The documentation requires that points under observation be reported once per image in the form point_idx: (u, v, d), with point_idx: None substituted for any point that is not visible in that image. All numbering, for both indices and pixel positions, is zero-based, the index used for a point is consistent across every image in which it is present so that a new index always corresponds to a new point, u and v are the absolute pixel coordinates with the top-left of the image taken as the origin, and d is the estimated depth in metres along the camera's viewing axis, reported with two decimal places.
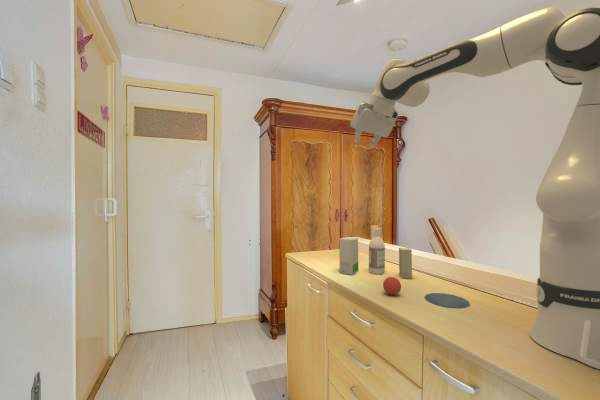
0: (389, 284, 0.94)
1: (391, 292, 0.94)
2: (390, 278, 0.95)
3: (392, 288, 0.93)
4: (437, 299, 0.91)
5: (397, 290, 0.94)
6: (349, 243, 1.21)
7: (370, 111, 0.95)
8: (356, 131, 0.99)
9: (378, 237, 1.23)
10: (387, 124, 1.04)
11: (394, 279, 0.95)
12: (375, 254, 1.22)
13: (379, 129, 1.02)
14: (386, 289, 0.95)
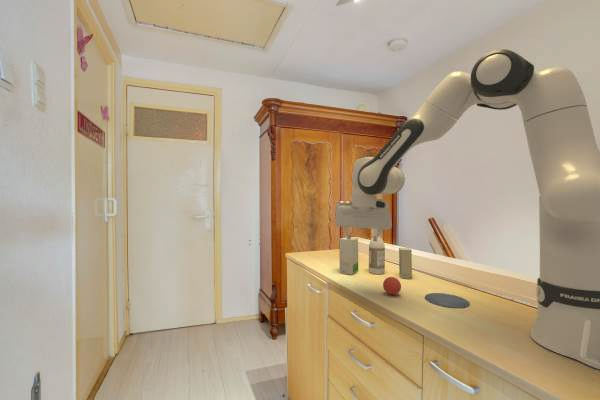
0: (389, 284, 0.94)
1: (391, 292, 0.94)
2: (390, 278, 0.95)
3: (392, 288, 0.93)
4: (437, 299, 0.91)
5: (397, 290, 0.94)
6: (349, 243, 1.21)
7: (345, 207, 1.00)
8: None
9: (378, 237, 1.23)
10: (381, 215, 0.97)
11: (394, 279, 0.95)
12: (375, 254, 1.22)
13: (370, 221, 0.98)
14: (386, 289, 0.95)
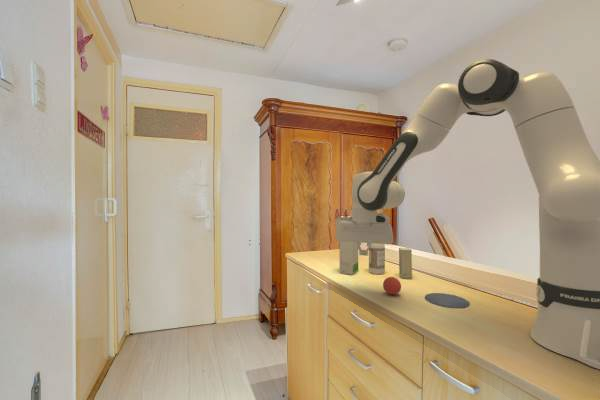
0: (389, 284, 0.94)
1: (391, 292, 0.94)
2: (390, 278, 0.95)
3: (392, 288, 0.93)
4: (437, 299, 0.91)
5: (397, 290, 0.94)
6: (349, 243, 1.21)
7: (346, 222, 1.00)
8: None
9: None
10: (382, 230, 0.96)
11: (394, 279, 0.95)
12: (375, 254, 1.22)
13: (371, 236, 0.97)
14: (386, 289, 0.95)
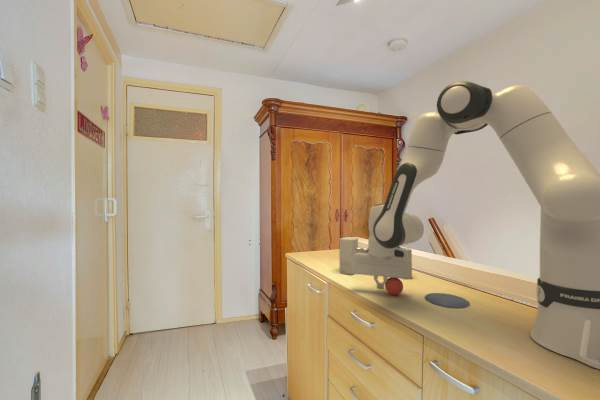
0: (392, 284, 0.94)
1: (392, 292, 0.94)
2: (394, 278, 0.95)
3: (394, 288, 0.93)
4: (437, 299, 0.91)
5: (398, 291, 0.93)
6: (349, 243, 1.21)
7: (362, 255, 0.97)
8: None
9: None
10: (400, 264, 0.94)
11: (398, 280, 0.95)
12: None
13: (389, 270, 0.95)
14: (388, 288, 0.95)
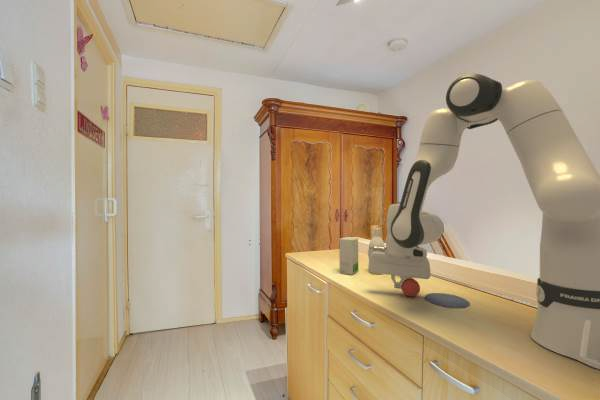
0: (410, 285, 0.92)
1: (406, 292, 0.93)
2: (414, 281, 0.93)
3: (411, 290, 0.92)
4: (437, 299, 0.91)
5: (413, 294, 0.92)
6: (349, 243, 1.21)
7: (380, 254, 0.96)
8: None
9: (378, 237, 1.23)
10: (419, 264, 0.92)
11: (417, 284, 0.93)
12: None
13: (407, 270, 0.93)
14: (404, 286, 0.93)
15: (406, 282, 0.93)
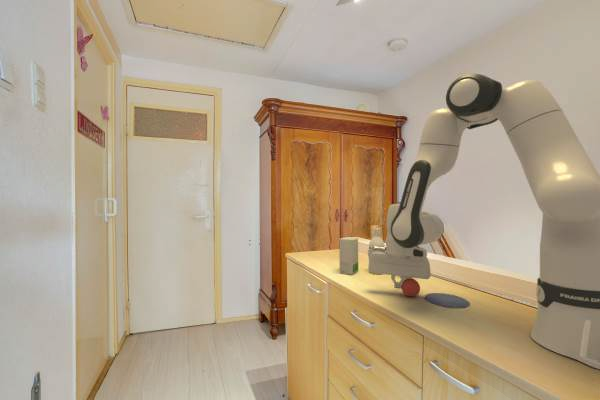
0: (410, 285, 0.92)
1: (406, 292, 0.93)
2: (415, 281, 0.93)
3: (411, 290, 0.92)
4: (437, 299, 0.91)
5: (413, 294, 0.92)
6: (349, 243, 1.21)
7: (380, 254, 0.96)
8: None
9: (378, 237, 1.23)
10: (419, 264, 0.92)
11: (417, 284, 0.93)
12: None
13: (407, 270, 0.93)
14: (404, 286, 0.93)
15: (406, 282, 0.93)
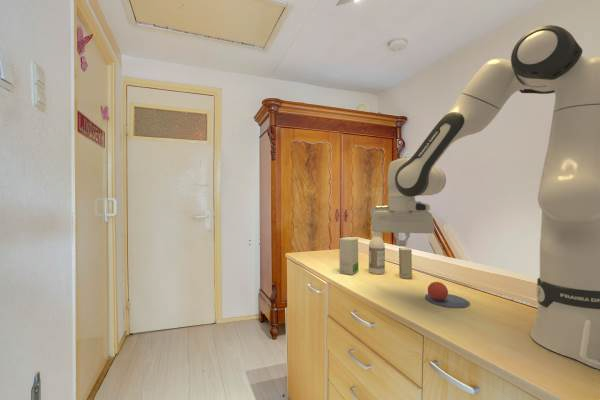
0: (437, 298, 0.88)
1: (438, 290, 0.88)
2: None
3: (435, 294, 0.88)
4: None
5: (431, 289, 0.89)
6: (349, 243, 1.21)
7: (382, 212, 0.96)
8: None
9: (378, 237, 1.23)
10: (422, 218, 0.91)
11: (432, 298, 0.91)
12: (375, 254, 1.22)
13: (410, 226, 0.92)
14: (443, 293, 0.88)
15: (443, 298, 0.88)
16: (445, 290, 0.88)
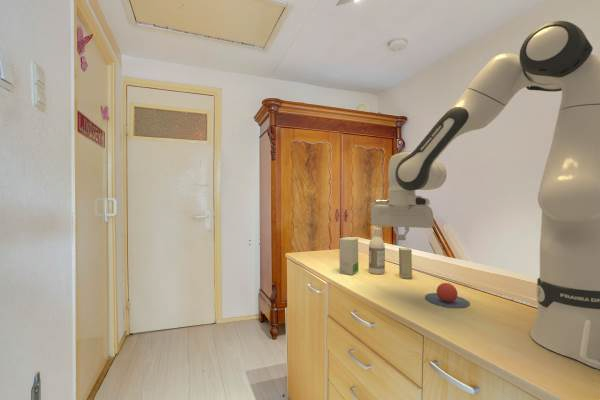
0: (443, 297, 0.87)
1: (451, 294, 0.86)
2: (438, 296, 0.90)
3: (444, 294, 0.87)
4: (437, 299, 0.91)
5: (445, 288, 0.88)
6: (349, 243, 1.21)
7: (382, 206, 0.96)
8: None
9: (378, 237, 1.23)
10: (422, 213, 0.92)
11: (437, 292, 0.90)
12: (375, 254, 1.22)
13: (410, 220, 0.93)
14: (451, 299, 0.87)
15: (446, 301, 0.88)
16: (454, 298, 0.87)
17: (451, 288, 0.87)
